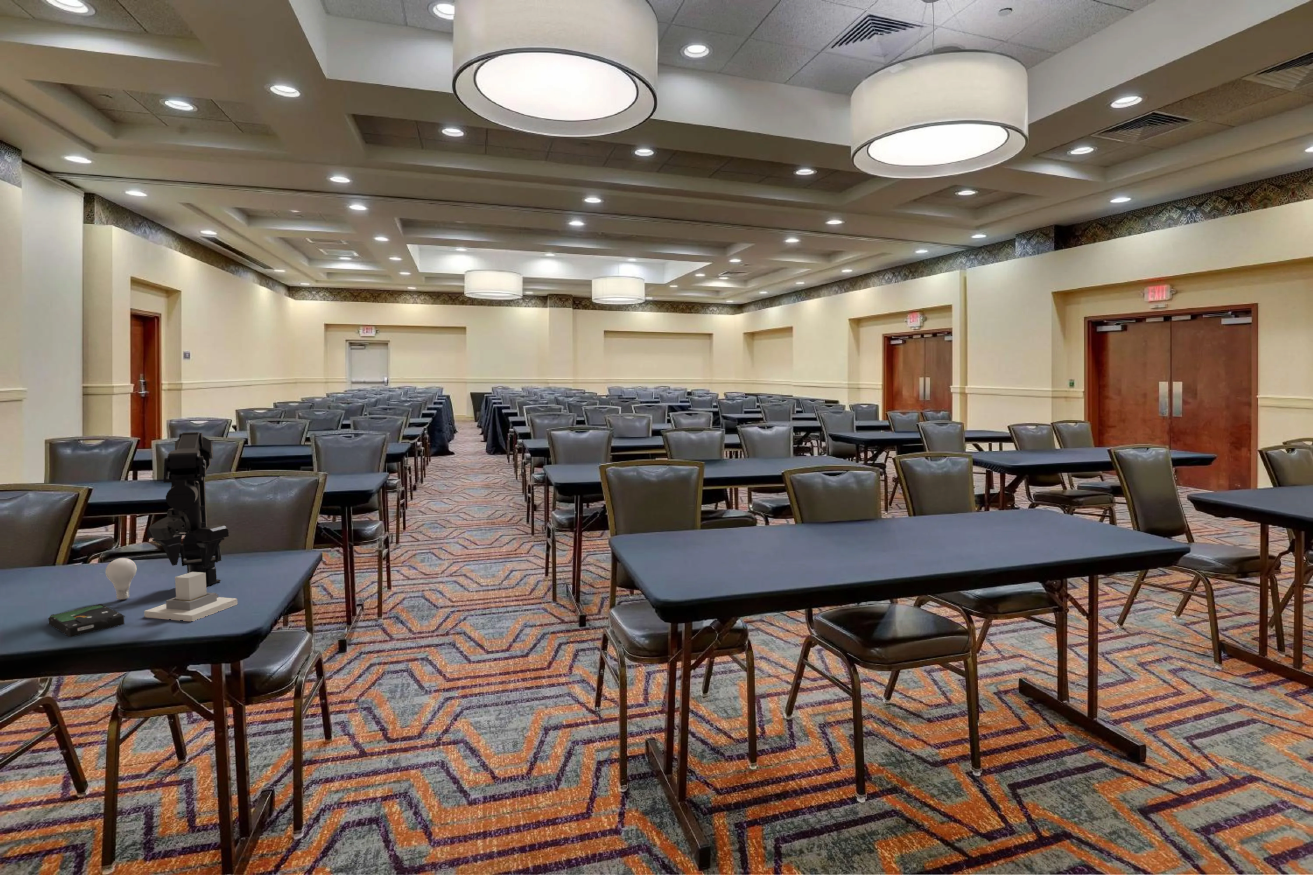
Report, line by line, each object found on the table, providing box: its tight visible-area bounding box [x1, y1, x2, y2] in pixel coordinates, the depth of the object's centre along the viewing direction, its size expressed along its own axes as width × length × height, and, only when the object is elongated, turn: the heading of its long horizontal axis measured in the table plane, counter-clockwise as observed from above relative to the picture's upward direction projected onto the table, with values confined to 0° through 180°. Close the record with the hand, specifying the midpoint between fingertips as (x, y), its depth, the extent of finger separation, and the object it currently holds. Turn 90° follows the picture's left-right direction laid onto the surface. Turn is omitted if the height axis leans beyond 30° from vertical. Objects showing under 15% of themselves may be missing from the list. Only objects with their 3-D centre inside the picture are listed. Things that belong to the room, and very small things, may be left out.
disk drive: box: [47, 603, 125, 638], centre depth 160 cm, size 10×3×15 cm
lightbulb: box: [105, 557, 138, 601], centre depth 177 cm, size 6×6×11 cm
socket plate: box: [143, 591, 238, 622], centre depth 169 cm, size 14×13×4 cm
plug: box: [174, 572, 208, 601], centre depth 169 cm, size 4×5×8 cm
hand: (189, 566), depth 168 cm, fingers open, 9 cm apart
